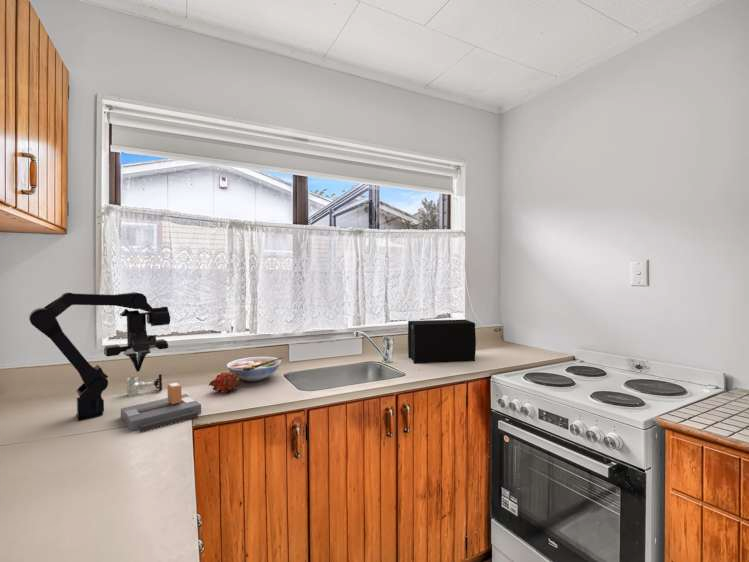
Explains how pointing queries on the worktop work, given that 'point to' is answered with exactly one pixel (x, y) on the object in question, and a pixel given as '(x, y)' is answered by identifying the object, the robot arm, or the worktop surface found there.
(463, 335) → the uninterruptible power supply
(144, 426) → the grey slab
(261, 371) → the ramen bowl
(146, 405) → the panel
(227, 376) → the dragon fruit
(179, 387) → the orange rectangular block
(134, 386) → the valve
